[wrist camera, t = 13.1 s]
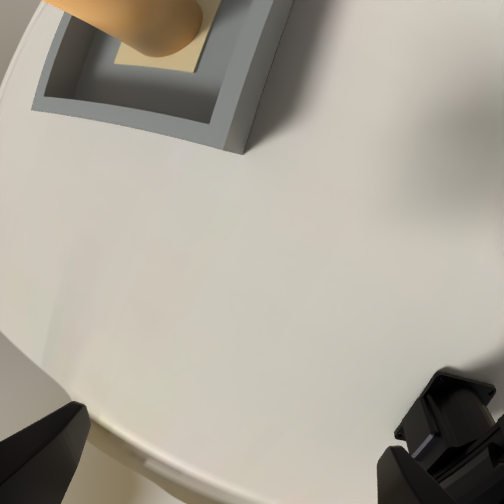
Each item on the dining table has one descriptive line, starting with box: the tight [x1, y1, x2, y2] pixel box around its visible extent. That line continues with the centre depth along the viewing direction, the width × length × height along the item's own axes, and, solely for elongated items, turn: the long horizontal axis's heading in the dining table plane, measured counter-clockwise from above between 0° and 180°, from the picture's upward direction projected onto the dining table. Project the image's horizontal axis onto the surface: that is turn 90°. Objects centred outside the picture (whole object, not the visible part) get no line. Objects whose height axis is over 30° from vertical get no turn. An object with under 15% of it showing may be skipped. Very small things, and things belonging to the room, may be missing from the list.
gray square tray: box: [31, 0, 294, 155], centre depth 15 cm, size 14×14×4 cm
